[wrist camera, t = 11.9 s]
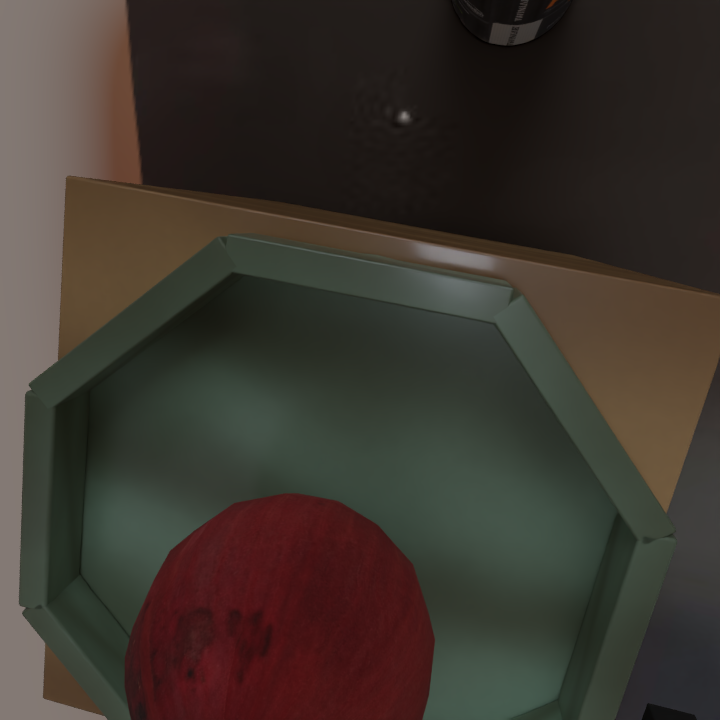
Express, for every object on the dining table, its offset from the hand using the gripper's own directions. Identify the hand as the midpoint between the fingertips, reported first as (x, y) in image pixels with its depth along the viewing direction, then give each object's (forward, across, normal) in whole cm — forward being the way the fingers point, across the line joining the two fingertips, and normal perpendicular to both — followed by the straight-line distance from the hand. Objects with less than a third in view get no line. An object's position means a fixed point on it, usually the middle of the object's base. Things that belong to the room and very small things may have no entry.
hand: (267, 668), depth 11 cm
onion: (+5, 0, 0) cm, 5 cm away
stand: (+23, 0, 0) cm, 23 cm away
